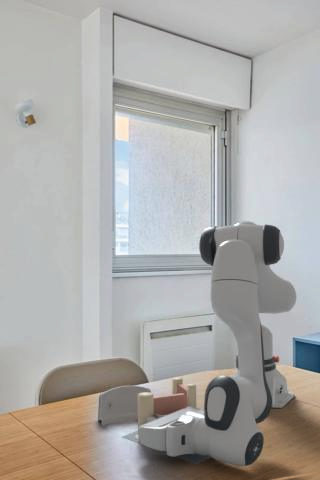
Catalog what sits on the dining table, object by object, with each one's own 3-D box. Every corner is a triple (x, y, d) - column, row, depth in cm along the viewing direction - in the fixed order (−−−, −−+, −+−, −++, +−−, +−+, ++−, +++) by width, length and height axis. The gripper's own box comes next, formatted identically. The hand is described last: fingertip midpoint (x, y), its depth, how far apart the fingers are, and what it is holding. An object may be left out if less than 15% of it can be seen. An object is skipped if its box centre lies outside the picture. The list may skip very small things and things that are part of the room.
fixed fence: (170, 416, 137) (170, 374, 137) (180, 415, 138) (180, 373, 138) (188, 433, 124) (187, 386, 124) (198, 431, 125) (198, 385, 125)
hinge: (101, 425, 131) (98, 388, 134) (97, 426, 135) (94, 389, 138) (158, 418, 137) (154, 382, 140) (153, 418, 141) (149, 383, 144)
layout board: (176, 416, 138) (176, 414, 138) (248, 437, 122) (248, 435, 122) (121, 438, 122) (121, 436, 122) (196, 466, 106) (196, 463, 106)
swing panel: (180, 425, 126) (180, 387, 127) (187, 431, 123) (186, 391, 123) (135, 433, 122) (135, 393, 122) (141, 438, 118) (140, 397, 118)
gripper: (220, 406, 118) (176, 396, 127) (166, 429, 102) (121, 416, 111) (220, 432, 118) (176, 420, 127) (167, 459, 102) (121, 443, 111)
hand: (150, 418), depth 119 cm, fingers closed, pressing on swing panel
